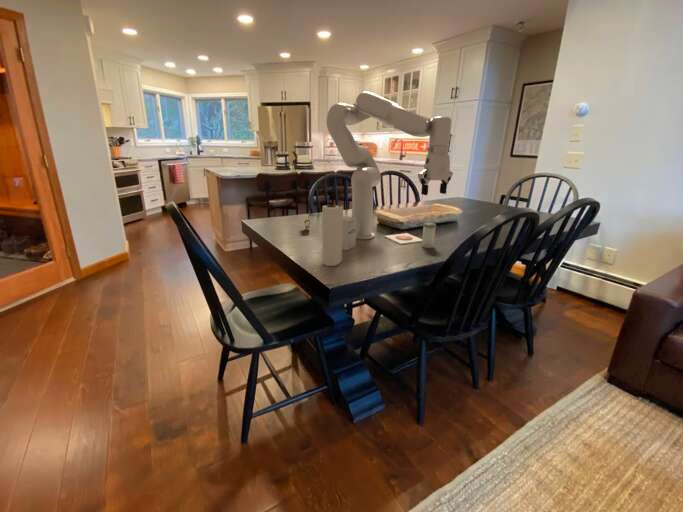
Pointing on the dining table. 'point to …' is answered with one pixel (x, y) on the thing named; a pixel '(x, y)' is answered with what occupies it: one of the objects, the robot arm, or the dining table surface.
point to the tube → (428, 235)
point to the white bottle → (349, 233)
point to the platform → (307, 223)
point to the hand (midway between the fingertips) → (433, 194)
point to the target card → (404, 238)
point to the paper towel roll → (332, 234)
